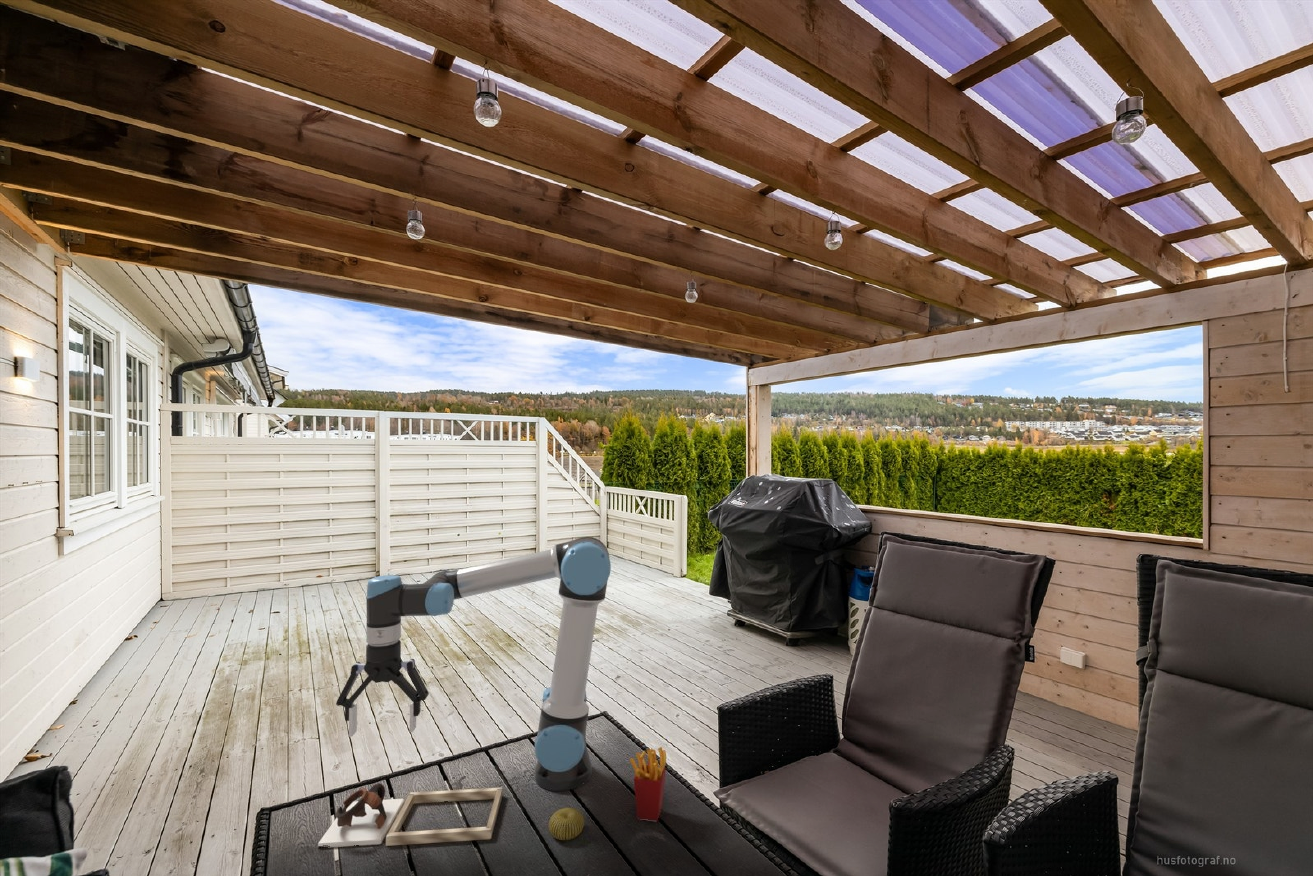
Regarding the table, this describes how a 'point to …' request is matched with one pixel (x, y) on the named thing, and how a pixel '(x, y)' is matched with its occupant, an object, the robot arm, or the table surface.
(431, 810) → the table surface
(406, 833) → the frame
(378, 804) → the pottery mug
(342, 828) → the ceramic tile
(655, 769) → the french fries
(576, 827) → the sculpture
